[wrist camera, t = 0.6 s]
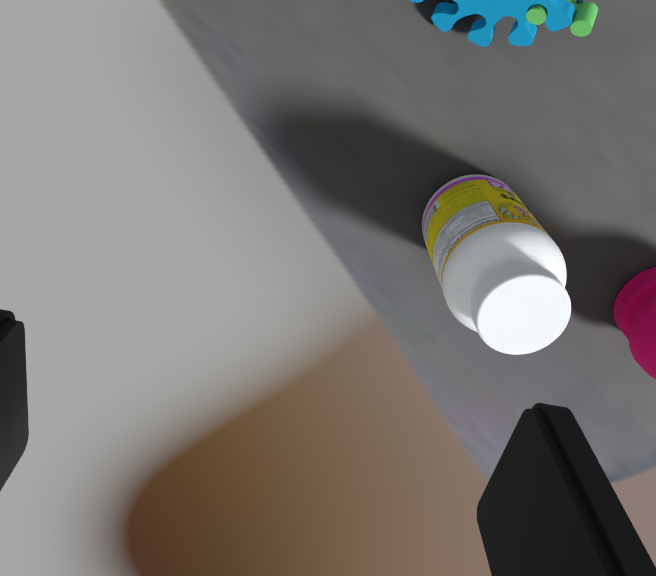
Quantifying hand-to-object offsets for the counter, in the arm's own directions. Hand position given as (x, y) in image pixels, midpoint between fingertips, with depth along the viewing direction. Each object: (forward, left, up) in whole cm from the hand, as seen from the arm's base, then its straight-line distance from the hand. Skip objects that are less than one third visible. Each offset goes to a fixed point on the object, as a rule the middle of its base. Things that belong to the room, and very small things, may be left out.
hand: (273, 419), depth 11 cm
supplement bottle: (+2, +13, -29) cm, 32 cm away
